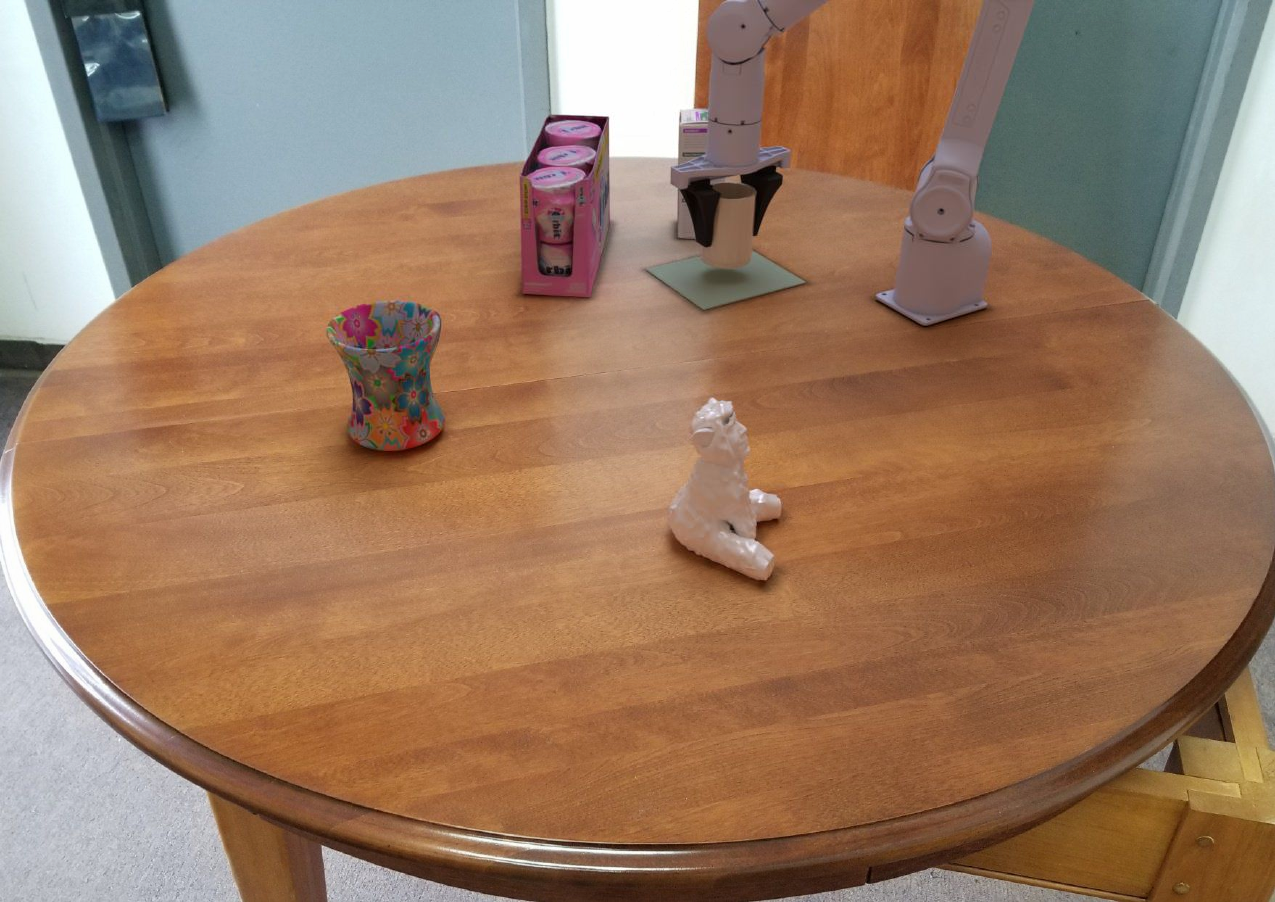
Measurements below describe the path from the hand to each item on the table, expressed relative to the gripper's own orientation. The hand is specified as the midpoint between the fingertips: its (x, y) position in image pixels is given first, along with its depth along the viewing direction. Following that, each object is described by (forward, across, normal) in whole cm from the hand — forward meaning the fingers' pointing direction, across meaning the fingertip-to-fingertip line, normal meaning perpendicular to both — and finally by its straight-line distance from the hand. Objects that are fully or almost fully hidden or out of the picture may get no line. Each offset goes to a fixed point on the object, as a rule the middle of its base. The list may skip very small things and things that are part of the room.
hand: (727, 238), depth 121 cm
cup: (+2, 0, 0) cm, 2 cm away
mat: (+5, 0, 0) cm, 5 cm away
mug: (+5, +43, +12) cm, 45 cm away
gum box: (+5, +13, -14) cm, 20 cm away
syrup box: (+5, -5, -13) cm, 15 cm away
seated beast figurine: (+5, +28, +40) cm, 49 cm away
